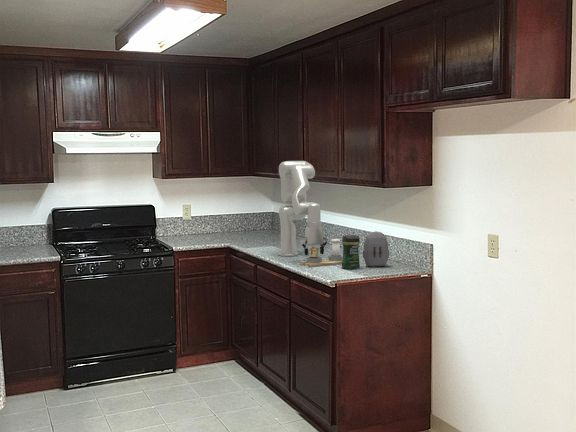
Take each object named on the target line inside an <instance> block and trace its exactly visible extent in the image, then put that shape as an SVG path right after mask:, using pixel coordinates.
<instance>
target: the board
mask: <svg viewBox="0 0 576 432" xmlns="http://www.w3.org/2000/svg"><path fill="white" fill-rule="evenodd" d="M299 265H303V266H304V267H308V268H317V267H329V266H340V265H341V266H342V261H329V259H328V258H322V262H321V263H308V262H307V259H305V260H300V261H299Z"/></svg>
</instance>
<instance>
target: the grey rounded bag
mask: <svg viewBox="0 0 576 432" xmlns="http://www.w3.org/2000/svg"><path fill="white" fill-rule="evenodd" d="M362 258H363V260H364V263H365V265H366V266H368V267H375V268H376V267H383V266H387V263H388V260H389V258H390V250H389V242H388V239H387V236H386V235H385V234H384V233H383V232H381V231H372V232H370V233H368V234H367V235H366V236H365V239H364V242H363V250H362Z"/></svg>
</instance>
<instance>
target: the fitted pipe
mask: <svg viewBox="0 0 576 432" xmlns="http://www.w3.org/2000/svg"><path fill="white" fill-rule="evenodd" d="M340 242H341V239H340V238H331V254H330V255H328V258H327V259H329V261H342V258H343V254H341V253H340V249H341V248H340V245H341V244H340Z"/></svg>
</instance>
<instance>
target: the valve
mask: <svg viewBox="0 0 576 432" xmlns="http://www.w3.org/2000/svg"><path fill="white" fill-rule="evenodd" d="M309 253H310V254H309V257H310V258H312V259H316V258H318V257H319V248H318V247H315V246H311V247H309Z"/></svg>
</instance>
